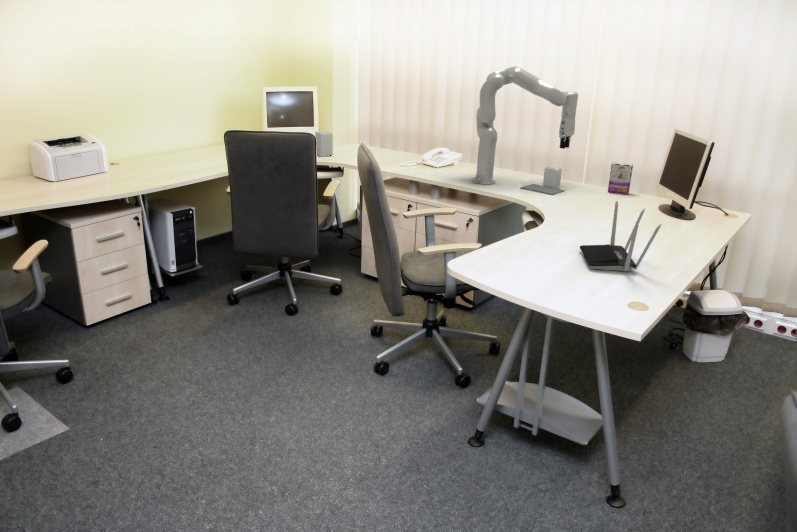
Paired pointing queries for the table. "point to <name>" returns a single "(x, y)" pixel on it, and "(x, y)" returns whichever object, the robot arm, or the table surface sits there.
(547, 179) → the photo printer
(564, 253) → the table surface
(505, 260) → the table surface
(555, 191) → the mat
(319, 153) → the supplement box
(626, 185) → the candy bar box
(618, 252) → the wireless router
